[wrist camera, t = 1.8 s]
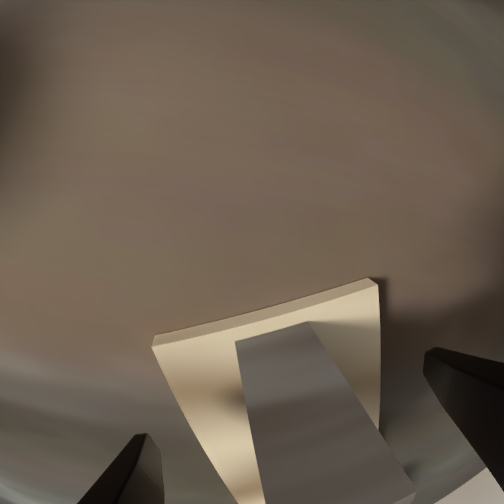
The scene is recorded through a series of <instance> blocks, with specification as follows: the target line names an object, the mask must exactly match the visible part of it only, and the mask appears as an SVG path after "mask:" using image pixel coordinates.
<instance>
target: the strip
mask: <svg viewBox="0 0 504 504" xmlns="http://www.w3.org/2000/svg"><path fill="white" fill-rule="evenodd" d="M152 349H153V351H154V354H155V356H156V358H157V360H158V363H159V365H160V367H161V369H162V371H163V373H164V375H165V377H166V380H167V382H168V384H169V386H170V388H171V390H172V392H173V394H174V396H175V398H176V400H177V402H178V404H179V406H180V407H181V409H182V411H183V413H184V415H185V417H186V419H187V421H188V423H189V424H190V426H191V428H192V430H193V432H194V433H195V435H196V437H197V439H198V440H199V442H200V444H201V446H202V447H203V449H204V451H205V452H206V454H207V456H208V457H209V459H210V461H211V462H212V464H213V466H214V467H215V469H216V470H217V472H218V474H219V475H220V477H221V478H222V480H223V481H224V483H225V484H226V486H227V487H228V489H229V490H230V492H231V493H232V495H233V496H234V498H235V499H236V501H237V502H238V504H412V502H413V500H414V497H415V495H416V493H417V490H416V488H415V487H414V485H413V484H412V482H411V480H410V479H409V477H408V476H407V474H406V473H405V471H404V469H403V468H402V466H401V465H400V463H399V462H398V460H397V458H396V457H395V455H394V454H393V452H392V451H391V449H390V448H389V446H388V444H387V443H386V441H385V440H384V438H383V437H382V435H381V434H380V432H379V430H378V428H379V412H380V385H381V340H380V312H379V295H378V285H377V284H376V283H375V282H373V281H372V280H370V279H369V278H365V279H362V280H358V281H355V282H352V283H349V284H346V285H343V286H340V287H336V288H333V289H330V290H327V291H323V292H320V293H317V294H313V295H310V296H307V297H303V298H300V299H296V300H293V301H289V302H286V303H282V304H279V305H275V306H272V307H268V308H264V309H261V310H257V311H253V312H250V313H246V314H242V315H238V316H234V317H230V318H227V319H223V320H219V321H215V322H211V323H207V324H202V325H198V326H194V327H190V328H186V329H181V330H177V331H173V332H168V333H164V334H159V335H155V337H154V340H153V344H152Z"/></svg>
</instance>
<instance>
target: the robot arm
mask: <svg viewBox="0 0 504 504" xmlns="http://www.w3.org/2000/svg"><path fill="white" fill-rule="evenodd" d="M423 374H424V376H425V378H426V380H427V381H428V383H429V385H430V386H431V388H432V390H433V391H434V393H435V395H436V396H437V398H438V400H439V401H440V403H441V405H442V406H443V408H444V409H445V411H446V412H447V413H448V415H449V416H450V417H451V419H452V420H453V421H454V423H455V424H456V425H457V427H458V428H459V429H460V431H461V432H462V433H463V435H464V436H465V437H466V439H467V440H468V441H469V443H470V444H471V446H472V447H473V448H474V450H475V451H476V452H477V454H478V455H479V457H480V458H481V459H482V461H483V462H484V464H485V465H486V466H487V468H488V469H489V471H490V472H491V474H492V475H493V477H494V478H495V479H496V481H497V482H498V484H499V485H500V487H501V488H502V490H503V491H504V363H501V362H497V361H493V360H488V359H484V358H480V357H476V356H472V355H467V354H463V353H459V352H455V351H451V350H447V349H443V348H439V347H434V348H432V349H430V350H428V351H426V353H425V355H424V365H423ZM77 504H164V484H163V474H162V464H161V454H160V450H159V448H158V447H157V445H156V444H155V442H154V441H153V440H152V438H151V437H150V435H149V434H147V433H143V434H136V435H134V436H133V438H132V439H131V440H130V441H129V442H128V444H127V445H126V446H125V447H124V449H123V450H122V451H121V452H120V453H119V455H118V456H117V457H116V458H115V459H114V461H113V462H112V463H111V464H110V465H109V467H108V468H107V469H106V470H105V471H104V473H103V474H102V475H101V476H100V477H99V479H98V480H97V481H96V482H95V483H94V484H93V486H92V487H91V488H90V489H89V490H88V492H87V493H86V494H85V495H84V496H83V497H82V499H81V500H80V501H79V502H78V503H77Z"/></svg>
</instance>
